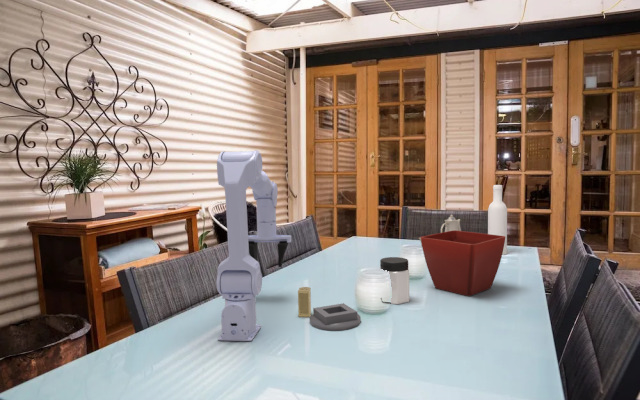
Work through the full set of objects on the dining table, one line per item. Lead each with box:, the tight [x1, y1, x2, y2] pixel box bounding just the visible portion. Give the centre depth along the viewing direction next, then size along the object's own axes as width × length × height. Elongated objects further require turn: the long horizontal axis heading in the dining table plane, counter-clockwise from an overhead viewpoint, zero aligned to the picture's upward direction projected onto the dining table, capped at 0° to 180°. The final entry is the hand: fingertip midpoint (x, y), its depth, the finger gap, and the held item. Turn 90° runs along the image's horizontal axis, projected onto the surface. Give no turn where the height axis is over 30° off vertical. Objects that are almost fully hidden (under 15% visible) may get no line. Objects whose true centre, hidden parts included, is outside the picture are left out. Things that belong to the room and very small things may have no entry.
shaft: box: [297, 286, 312, 318], centre depth 119 cm, size 4×3×7 cm
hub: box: [309, 302, 361, 332], centre depth 113 cm, size 13×13×3 cm
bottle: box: [487, 184, 508, 256], centre depth 193 cm, size 8×8×30 cm
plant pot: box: [420, 230, 505, 297], centre depth 140 cm, size 19×19×17 cm
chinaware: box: [418, 214, 462, 247], centre depth 210 cm, size 28×17×17 cm, turn 130°
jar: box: [379, 256, 410, 305], centre depth 130 cm, size 9×8×12 cm
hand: (267, 266), depth 134 cm, fingers open, 7 cm apart
